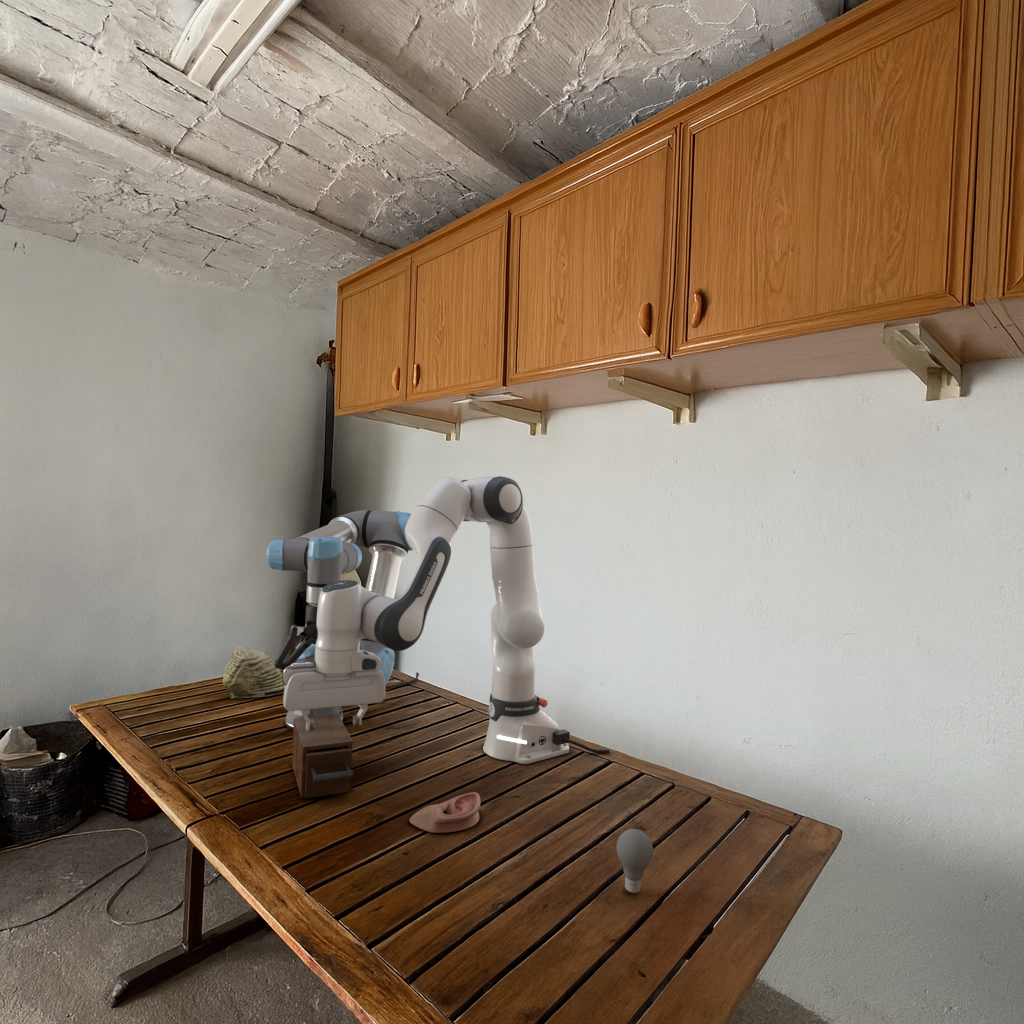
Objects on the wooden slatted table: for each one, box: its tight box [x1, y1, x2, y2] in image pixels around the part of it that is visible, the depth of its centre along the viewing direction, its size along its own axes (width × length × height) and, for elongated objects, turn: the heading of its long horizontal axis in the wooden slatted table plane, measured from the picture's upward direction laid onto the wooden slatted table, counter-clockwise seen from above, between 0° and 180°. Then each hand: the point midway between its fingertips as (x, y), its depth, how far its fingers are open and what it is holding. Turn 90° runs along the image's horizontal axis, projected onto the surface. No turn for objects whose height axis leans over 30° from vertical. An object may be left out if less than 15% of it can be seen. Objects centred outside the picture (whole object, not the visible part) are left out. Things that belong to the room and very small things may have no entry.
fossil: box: [222, 646, 285, 699], centre depth 198 cm, size 9×18×15 cm, turn 132°
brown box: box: [291, 714, 353, 799], centre depth 143 cm, size 18×10×11 cm, turn 25°
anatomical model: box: [409, 791, 481, 834], centre depth 126 cm, size 13×4×12 cm
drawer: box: [304, 746, 354, 799], centre depth 138 cm, size 22×9×9 cm, turn 25°
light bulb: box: [615, 828, 654, 894], centre depth 106 cm, size 6×6×10 cm
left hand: (319, 695), depth 147 cm, fingers open, 13 cm apart
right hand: (334, 727), depth 130 cm, fingers open, 8 cm apart
